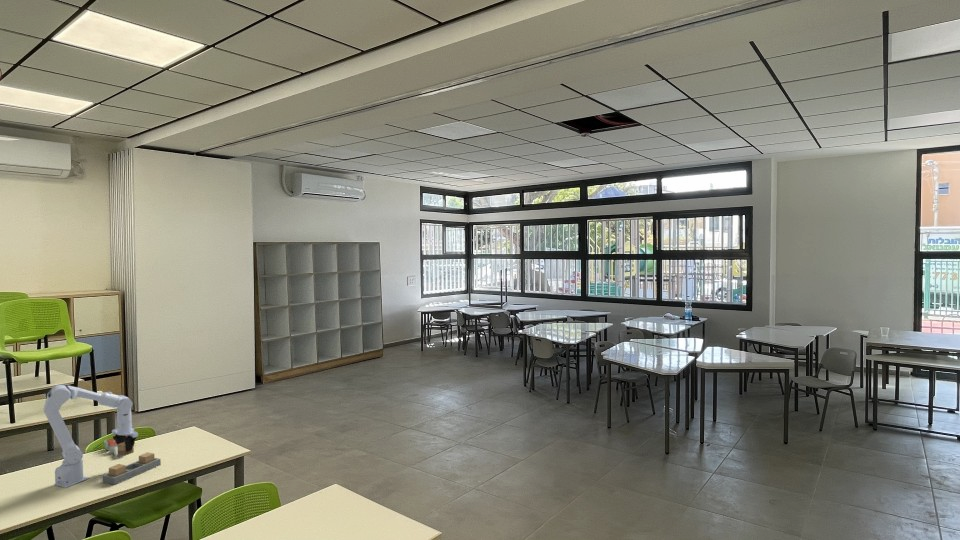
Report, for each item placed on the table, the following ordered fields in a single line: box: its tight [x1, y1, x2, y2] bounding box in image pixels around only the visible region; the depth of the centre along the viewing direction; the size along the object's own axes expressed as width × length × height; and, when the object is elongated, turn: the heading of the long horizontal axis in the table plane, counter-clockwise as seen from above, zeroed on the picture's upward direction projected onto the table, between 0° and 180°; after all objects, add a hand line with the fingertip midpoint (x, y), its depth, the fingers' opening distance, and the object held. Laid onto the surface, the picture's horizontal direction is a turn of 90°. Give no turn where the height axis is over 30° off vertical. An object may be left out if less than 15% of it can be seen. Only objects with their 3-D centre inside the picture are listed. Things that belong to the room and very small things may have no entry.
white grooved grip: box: [103, 436, 136, 460], centre depth 265 cm, size 18×5×20 cm
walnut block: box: [117, 442, 135, 457], centre depth 245 cm, size 4×4×5 cm
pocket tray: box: [102, 452, 162, 486], centre depth 240 cm, size 22×8×6 cm, turn 160°
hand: (125, 450), depth 245 cm, fingers closed on walnut block, 4 cm apart
